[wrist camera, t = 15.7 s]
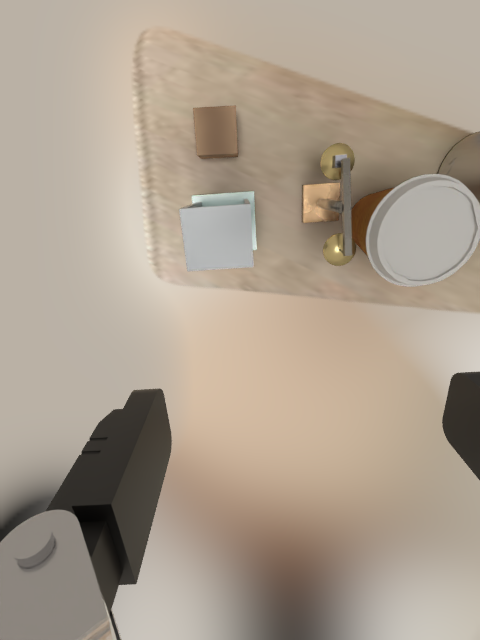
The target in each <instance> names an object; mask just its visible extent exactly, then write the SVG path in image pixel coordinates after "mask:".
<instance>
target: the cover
mask: <svg viewBox="0 0 480 640" xmlns="http://www.w3.org/2000/svg"><path fill="white" fill-rule="evenodd" d="M179 211H180V219H181V226H182V234H183V242H184V249H185V257H186V264H187V271H200V270H215V269H230V268H245V267H254V263H253V244H252V225H251V206H250V202H249V200H248V198H246V199H244V204H238V205H224V206H210V207H202V202H197V203H194V204H191V205H189V206H186V207H183V208H180V209H179Z"/></svg>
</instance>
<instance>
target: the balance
mask: <svg viewBox="0 0 480 640" xmlns="http://www.w3.org/2000/svg"><path fill="white" fill-rule="evenodd" d="M320 164H321V170H322V172H323V174H324V175H325V176H326V177H327V178H329V179H331V180H339V179H341V190H342V201H340V183H325V184H311V185H302V222H303V223H308V222H323V221H337V220H339V213H341V214H342V233H338V234H335V235H333V236H331V237H330V238H328V240H327V241H326V242H325V244H324V247H323V255H324V257H325V259H326V260H327V261H328V262H329V263H330V264H332V265H335V266H341V265H344V264H346V263H348V262H349V261H350V260H351V259H352V258H353V257H354V255H355V252H356V244H355V241H354V240H353V238H352V226H351V174H350V172H351V170H352V168H353V166H354V153H353V151H352V149H351V148H350V147H349V146H347V145H346V144H343V143H337V144H334V145H331V146H330V147H328V148H327V149H326V150H325V152H324V153H323V155H322V158H321V163H320Z"/></svg>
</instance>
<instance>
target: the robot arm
mask: <svg viewBox="0 0 480 640" xmlns="http://www.w3.org/2000/svg"><path fill="white" fill-rule="evenodd" d="M438 174H441V175H446V176H450V177H452V178H455V179H457V180H459V181H460V182H461V183H463V184H464V185H465V186H466V187H467V188H468V189H469V190H470V191H471V192H472V193H473V194H474V196H475V197H476V199H477V200H478V202H479V205H480V132H476V133H473V134H471V135H469V136H467V137H466V138H464V139H463V140H461V141H460V142H459V143H457V144H456V145H455V146H454V147H453V149H452V150H451V151H450V152H449V153H448V155H447V156H446V158H445V159H444V161H443V162H442V165H441V167H440V169H439V172H438ZM442 423H443V430H444V433H445V436H446V438H447V440H448V441H449V443H450V444H451V445H452V447H453V448H454V449H455V450H456V452H457V453H458V454H459V455H460V457H461V458H462V459H463V460H464V461H465V463H466V464H467V465H468V466H469V468H470V469H471V470H472V471H473V473H474V474H475V475H476V476H477V477H478V479H479V480H480V372H465V373H456V374H454V375H453V377H452V379H451V381H450V386H449V391H448V396H447V401H446V405H445V410H444V415H443V422H442ZM170 453H171V430H170V424H169V419H168V414H167V409H166V403H165V398H164V394H163V391H162V390H161V389H145V390H134V391H133V392H132V393H131V395H130V397H129V398H128V400H127V402H126V404H125V406H124V408H123V409H116V410H113V411H112V412H111V413H110V414H109V415H107V416H106V417H105V418H104V419H103V420H102V421H100V422H99V424H98V425H97V427H96V429H95V430H94V432H93V433H92V435H91V437H90V441H88V442H87V443H86V445H85V447H84V448H83V450H82V454H81V455H79V457H78V458H77V460H76V462H75V463H74V465H73V467H72V468H71V470H70V472H69V473H68V475H67V477H66V478H65V480H64V482H63V483H62V485H61V487H60V489H59V490H58V492H57V494H56V495H55V497H54V498H53V500H52V502H51V504H50V505H49V507H48V508H47V510H46V512H43V513H40V514H38V515H35V516H33V517H31V518H30V519H28V520H26V521H24V522H23V523H22V524H20V525H19V526H17V527H16V528H15V529H14V530H12V531H11V532H10V533H9V534H8V535H7V536H6V537H5V538H4V539H3V540H2V541H1V543H0V640H122V639H121V637H120V633H119V630H118V627H117V624H116V621H115V618H114V614H113V611H112V609H111V608H112V605H113V602H114V598H115V595H116V592H117V589H118V585H127V584H136V583H137V579H138V575H139V572H140V568H141V564H142V560H143V556H144V552H145V549H146V545H147V541H148V537H149V534H150V530H151V526H152V522H153V518H154V515H155V511H156V507H157V503H158V499H159V496H160V492H161V488H162V484H163V480H164V477H165V473H166V469H167V465H168V461H169V458H170Z"/></svg>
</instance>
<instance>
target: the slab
mask: <svg viewBox="0 0 480 640" xmlns="http://www.w3.org/2000/svg"><path fill="white" fill-rule="evenodd" d="M246 198H248V200H249V202H250V206H251V225H252V244H253V250H257V245H256V224H255V203H254V191H248V192H234V193H220V194H206V195H193V196H192V204H194V203H197V202H202V207H210V206H224V205H238V204H244V199H246Z"/></svg>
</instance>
